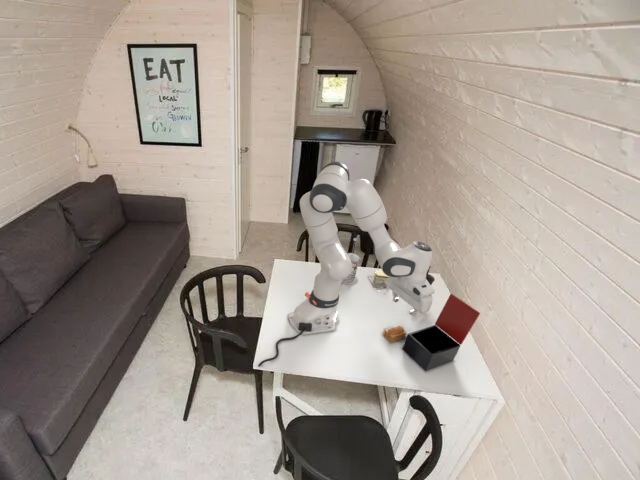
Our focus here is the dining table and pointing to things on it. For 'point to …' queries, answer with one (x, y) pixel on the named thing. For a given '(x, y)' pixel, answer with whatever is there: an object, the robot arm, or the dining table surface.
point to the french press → (354, 259)
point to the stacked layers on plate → (379, 279)
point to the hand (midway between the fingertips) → (403, 307)
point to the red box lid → (457, 318)
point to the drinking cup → (429, 277)
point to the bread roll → (395, 333)
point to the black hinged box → (430, 347)
